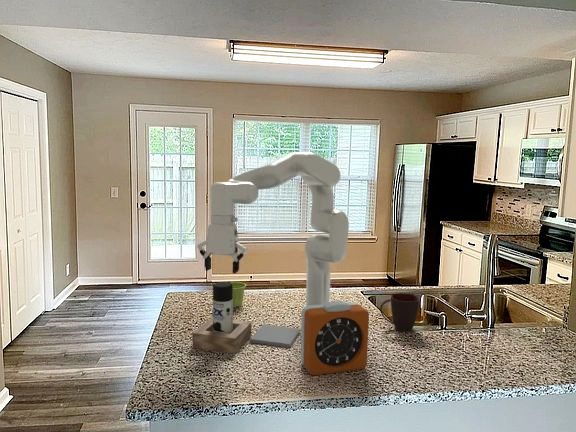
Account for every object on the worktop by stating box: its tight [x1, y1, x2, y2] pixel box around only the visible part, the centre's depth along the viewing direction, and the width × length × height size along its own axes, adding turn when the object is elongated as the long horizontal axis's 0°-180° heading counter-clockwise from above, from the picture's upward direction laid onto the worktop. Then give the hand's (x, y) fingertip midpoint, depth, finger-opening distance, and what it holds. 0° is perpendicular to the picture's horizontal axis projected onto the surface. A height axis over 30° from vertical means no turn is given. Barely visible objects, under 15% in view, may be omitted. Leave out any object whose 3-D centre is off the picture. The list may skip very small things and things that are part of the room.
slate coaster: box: [249, 323, 301, 348], centre depth 158 cm, size 14×14×1 cm
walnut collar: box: [191, 316, 252, 354], centre depth 153 cm, size 15×15×5 cm
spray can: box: [212, 281, 234, 334], centre depth 152 cm, size 7×7×20 cm
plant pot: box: [230, 281, 247, 308], centre depth 190 cm, size 9×9×9 cm
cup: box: [379, 292, 420, 333], centre depth 166 cm, size 10×14×12 cm
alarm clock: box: [300, 300, 370, 376], centre depth 135 cm, size 18×9×21 cm, turn 106°
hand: (221, 271), depth 150 cm, fingers open, 9 cm apart
